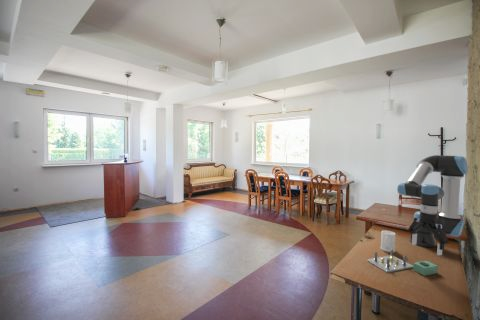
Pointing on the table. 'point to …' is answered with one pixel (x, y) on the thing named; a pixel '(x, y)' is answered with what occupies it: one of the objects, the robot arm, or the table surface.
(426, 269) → the board
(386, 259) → the chassis
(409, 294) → the table surface
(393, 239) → the mug
